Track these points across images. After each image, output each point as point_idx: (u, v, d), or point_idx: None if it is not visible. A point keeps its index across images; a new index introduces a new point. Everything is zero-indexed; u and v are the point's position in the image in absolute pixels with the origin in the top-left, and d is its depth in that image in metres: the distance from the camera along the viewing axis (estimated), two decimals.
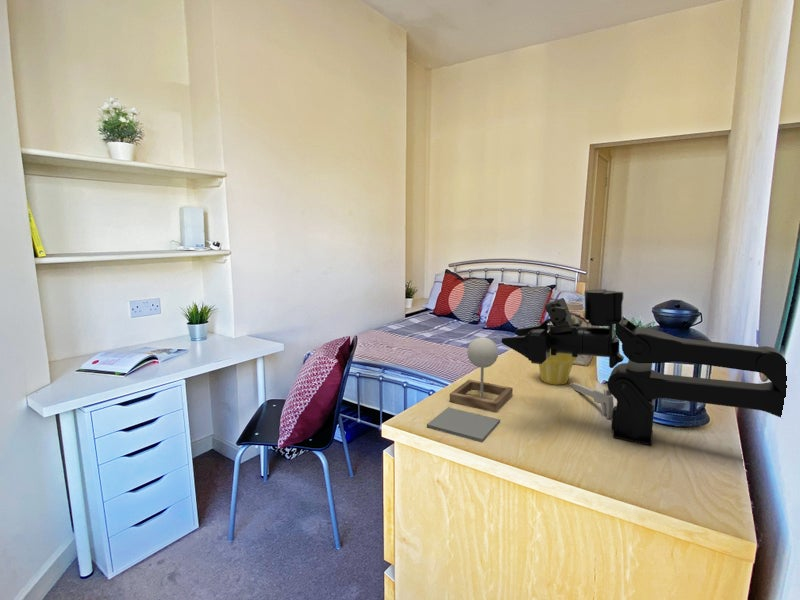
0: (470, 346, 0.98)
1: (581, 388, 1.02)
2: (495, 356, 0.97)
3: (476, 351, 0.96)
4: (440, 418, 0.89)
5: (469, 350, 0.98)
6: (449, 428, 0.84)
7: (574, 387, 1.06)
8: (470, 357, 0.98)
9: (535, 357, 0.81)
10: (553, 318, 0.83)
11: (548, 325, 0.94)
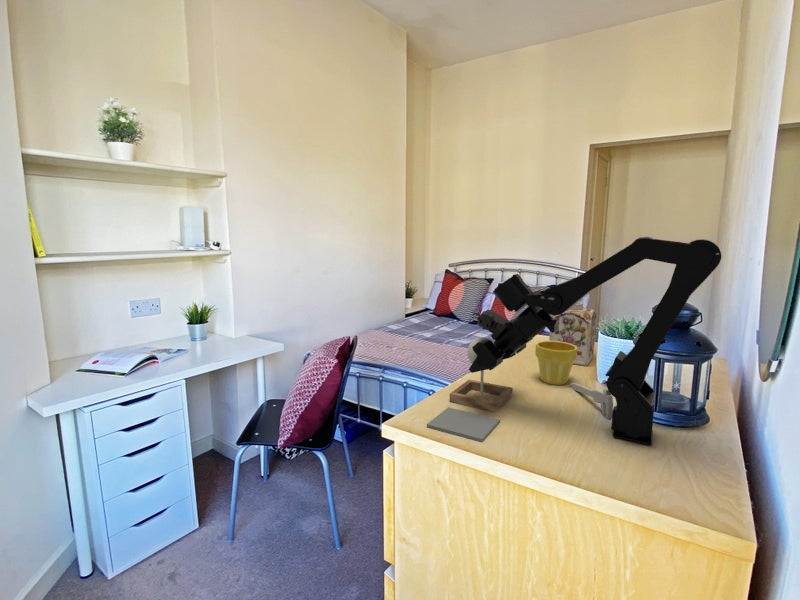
0: (470, 346, 0.98)
1: (581, 388, 1.02)
2: None
3: None
4: (440, 418, 0.89)
5: (469, 350, 0.98)
6: (449, 428, 0.84)
7: (574, 387, 1.06)
8: (470, 357, 0.98)
9: (488, 363, 0.88)
10: (485, 327, 0.93)
11: None
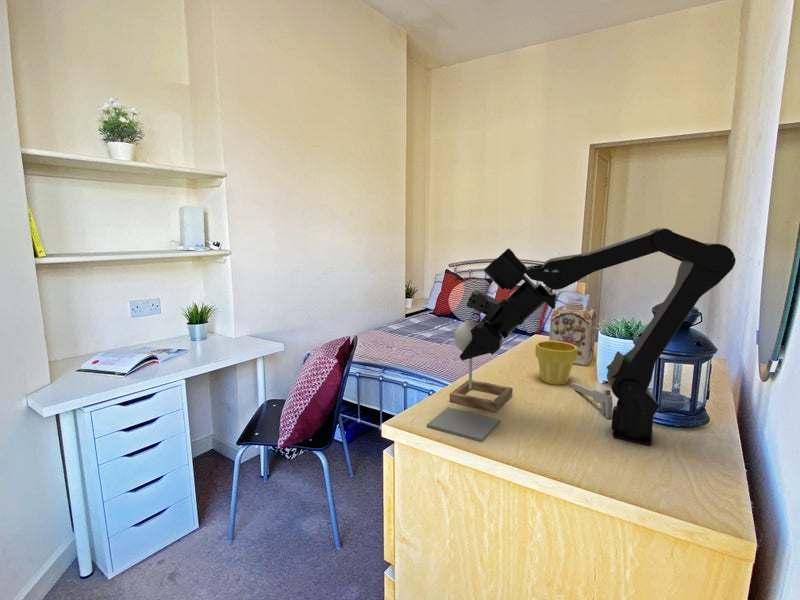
0: (459, 331, 0.88)
1: (581, 388, 1.02)
2: None
3: (467, 336, 0.87)
4: (440, 418, 0.89)
5: (458, 335, 0.88)
6: (449, 428, 0.84)
7: (574, 387, 1.06)
8: (460, 343, 0.88)
9: (490, 347, 0.79)
10: (479, 307, 0.84)
11: (487, 321, 0.94)
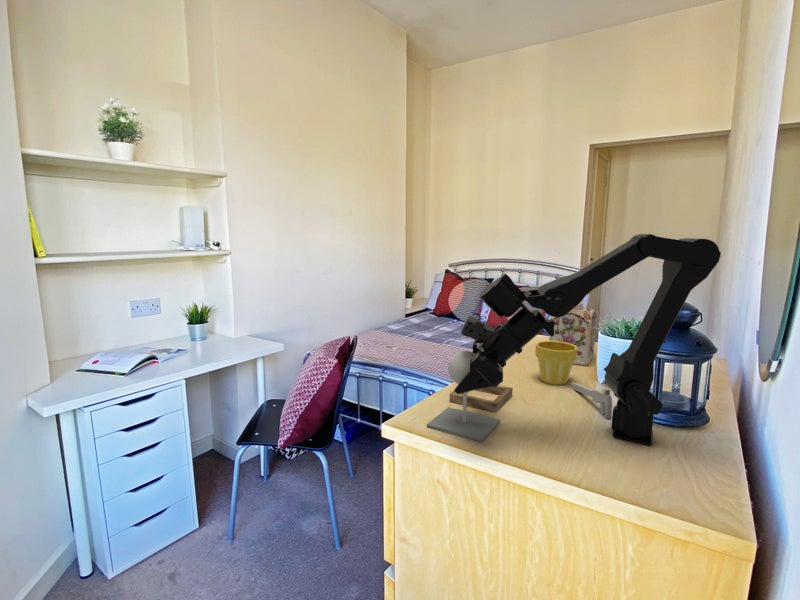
0: (454, 363, 0.83)
1: (580, 388, 1.02)
2: None
3: (464, 368, 0.82)
4: (440, 418, 0.89)
5: (454, 368, 0.83)
6: (449, 428, 0.84)
7: (573, 387, 1.06)
8: (456, 376, 0.83)
9: (493, 379, 0.75)
10: (477, 336, 0.80)
11: (478, 347, 0.90)
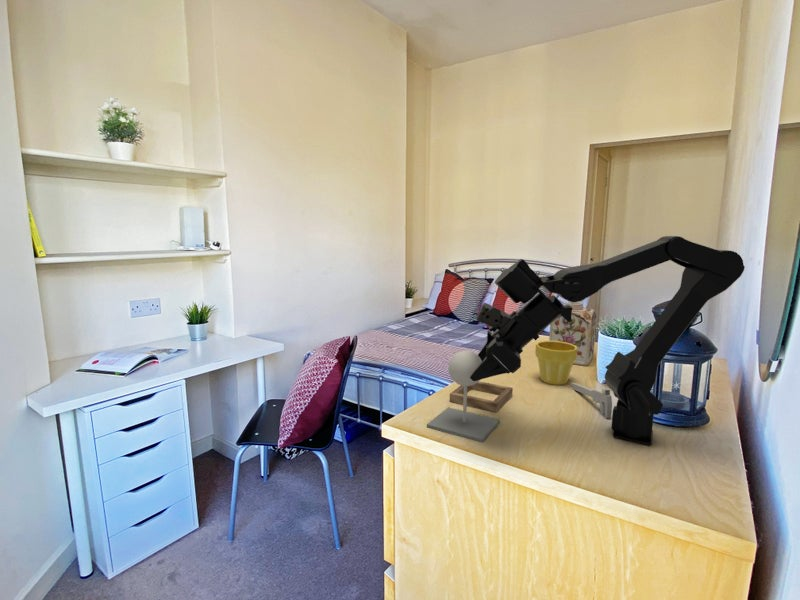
0: (455, 363, 0.83)
1: (580, 388, 1.02)
2: None
3: (465, 368, 0.82)
4: (440, 418, 0.89)
5: (454, 368, 0.83)
6: (449, 428, 0.84)
7: (573, 387, 1.06)
8: (456, 376, 0.83)
9: (511, 365, 0.74)
10: (493, 322, 0.78)
11: (493, 335, 0.89)
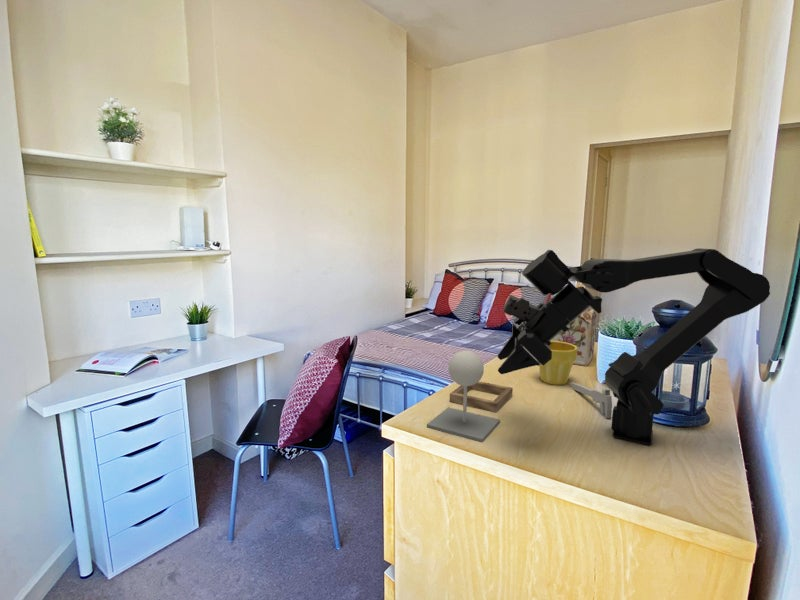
0: (455, 363, 0.83)
1: (580, 388, 1.02)
2: (483, 371, 0.84)
3: (465, 368, 0.82)
4: (440, 418, 0.89)
5: (454, 368, 0.83)
6: (449, 428, 0.84)
7: (573, 387, 1.06)
8: (456, 376, 0.83)
9: (542, 357, 0.73)
10: (521, 314, 0.77)
11: (518, 328, 0.87)
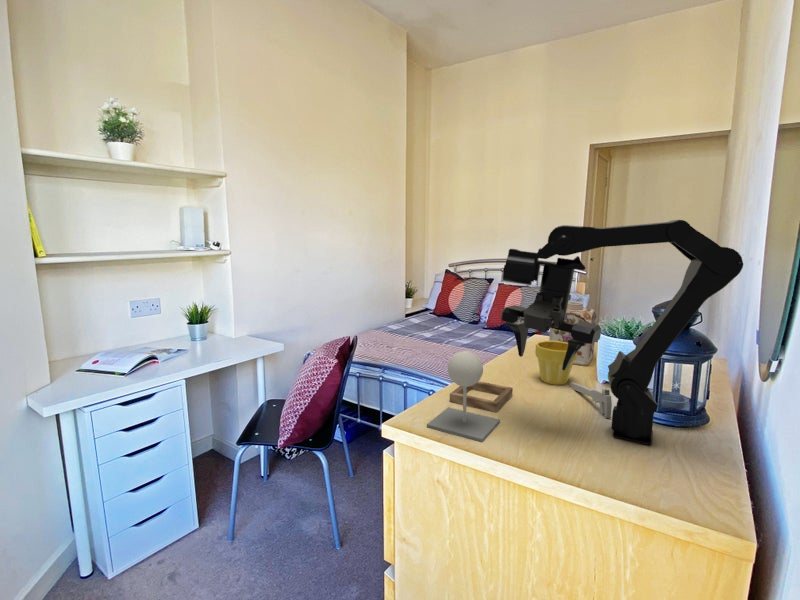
0: (454, 364, 0.83)
1: (580, 388, 1.02)
2: (482, 371, 0.84)
3: (464, 369, 0.82)
4: (440, 418, 0.89)
5: (454, 368, 0.83)
6: (449, 428, 0.84)
7: (573, 387, 1.06)
8: (456, 377, 0.83)
9: (599, 335, 0.81)
10: (562, 322, 0.78)
11: (518, 323, 0.87)
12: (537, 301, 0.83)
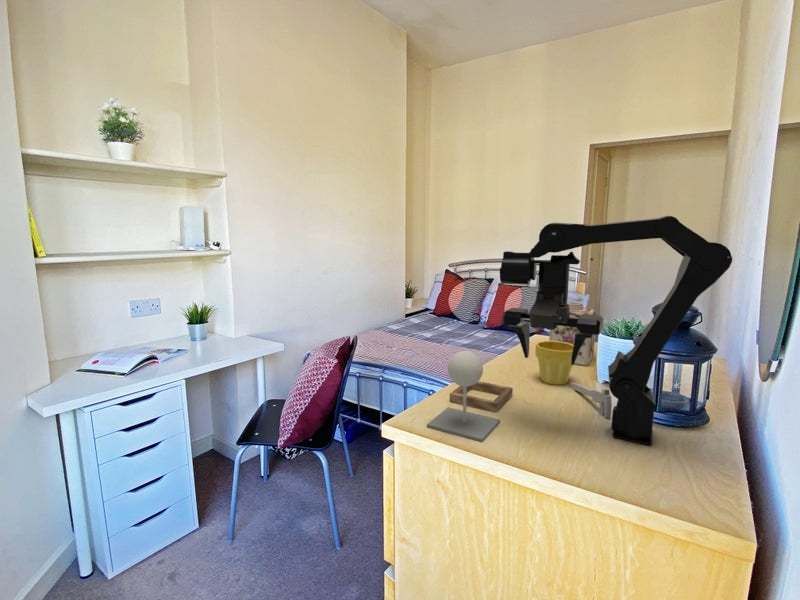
0: (454, 363, 0.83)
1: (580, 388, 1.02)
2: (482, 371, 0.84)
3: (464, 369, 0.82)
4: (440, 418, 0.89)
5: (454, 368, 0.83)
6: (449, 428, 0.84)
7: (573, 387, 1.06)
8: (456, 376, 0.83)
9: (602, 325, 0.82)
10: (568, 317, 0.79)
11: (521, 325, 0.87)
12: (539, 300, 0.83)
